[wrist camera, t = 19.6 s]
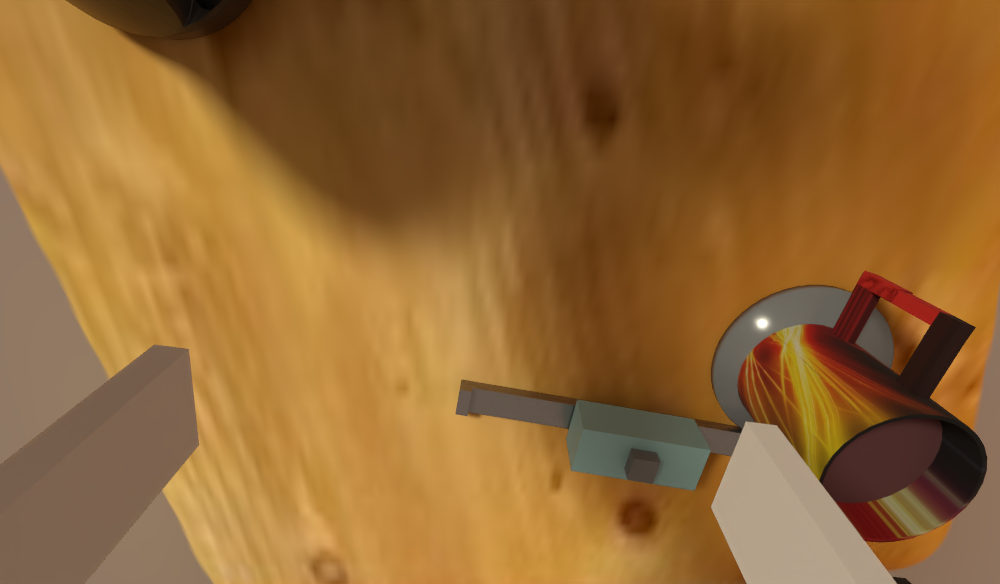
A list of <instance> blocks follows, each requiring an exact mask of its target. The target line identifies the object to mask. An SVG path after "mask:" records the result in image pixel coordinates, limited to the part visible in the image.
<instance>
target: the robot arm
mask: <svg viewBox="0 0 1000 584" xmlns="http://www.w3.org/2000/svg"><path fill="white" fill-rule="evenodd" d="M66 1H68V2H69V3H71V4H72V5H74V6H75V7H77V8H78V9H80V10H82V11H83V12H85V13H86V14H88V15H90V16H91V17H93V18H95V19H97V20H99V21H101V22H103V23H105V24H107V25H109V26H112V27H115V28H117V29H120V30H123V31H126V32H129V33H133V34H137V35H143V36H149V37H156V38H163V39H173V40H182V39H192V38H197V37H201V36H205V35H208V34H210V33H213V32H215V31H217V30H219V29H221V28H223V27H224V26H226V25H228V24H229V23H230V22H232V21H233V20H234V19H235V18H236V17H238V16H239V15H240V14H241V13H242V12H243V10H244V9H245V8H246V7H247V6H248V4H249V3H250V2H251V0H66ZM198 446H199V440H198V431H197V421H196V412H195V403H194V394H193V384H192V375H191V366H190V357H189V349H184V348H176V347H169V346H161V345H153V346H152V347H151V348H149V349H148V350H147V351H146V352H144V353H143V354H142V355H140V356H139V357H138V358H137V359H135V360H134V361H133V362H131V363H130V364H129V365H128V366H126V367H125V368H124V369H122V370H121V371H120V372H119V373H117V374H116V375H115V376H113V377H112V378H111V379H110V380H108V381H107V382H106V383H104V384H103V385H102V386H101V387H99V388H98V389H97V390H95V391H94V392H93V393H92V394H90V395H89V396H88V397H86V398H85V399H84V400H83V401H82V402H80V403H79V404H77V405H76V406H75V407H74V408H72V409H71V410H70V411H68V412H67V413H66V414H65V415H63V416H62V417H61V418H59V419H58V420H57V421H56V422H54V423H53V424H52V425H50V426H49V427H48V428H47V429H45V430H44V431H43V432H41V433H40V434H39V435H37V436H36V437H35V438H34V439H32V440H31V441H30V442H29V443H27V444H26V445H25V446H23V447H22V448H21V449H19V450H18V451H17V452H16V453H14V454H13V455H12V456H10V457H9V458H8V459H7V460H5V461H4V462H3V463H1V464H0V584H85V583H86V582H87V580H88V579H89V578H90V576H91V575H92V574H93V573H94V572H95V571H96V569H97V568H98V567H99V566H100V564H101V563H102V562H103V561H104V560H105V558H106V557H107V556H108V555H109V554H110V552H111V551H112V550H113V549H114V548H115V546H116V545H117V544H118V543H119V541H120V540H121V539H122V538H123V537H124V535H125V534H126V533H127V532H128V531H129V529H130V528H131V527H132V526H133V524H134V523H135V522H136V521H137V520H138V518H139V517H140V516H141V515H142V513H143V512H144V511H145V510H146V509H147V507H148V506H149V505H150V504H151V503H152V501H153V500H154V499H155V498H156V497H157V495H158V494H159V493H160V492H161V490H162V489H163V488H164V487H165V486H166V484H167V483H168V482H169V481H170V480H171V478H172V477H173V476H174V475H175V473H176V472H177V471H178V470H179V469H180V467H181V466H182V465H183V464H184V463H185V461H186V460H187V459H188V458H189V456H190V455H191V454H192V453H193V452H194V450H195V449H196V448H197V447H198ZM711 508H712V511H713V513H714V515H715V517H716V519H717V521H718V523H719V526H720V528H721V530H722V532H723V534H724V536H725V538H726V541H727V543H728V545H729V547H730V549H731V551H732V553H733V556H734V558H735V560H736V562H737V564H738V566H739V568H740V571H741V573H742V575H743V577H744V579H745V581H746V583H747V584H911V583H910V582H909V581H908V580H907V579H905V578H897V577H892V576H891V575H890V574H889V572H888V571H887V570H886V568H885V567H884V566H883V565H882V563H881V562H880V561H879V559H878V558H877V557H876V555H875V554H874V553H873V551H872V550H871V549H870V547H869V546H868V545H867V543H866V542H865V541H864V540H863V538H862V537H861V536H860V534H859V533H858V532H857V530H856V529H855V528H854V526H853V525H852V524H851V522H850V521H849V520H848V518H847V517H846V516H845V515H844V513H843V512H842V511H841V509H840V508H839V507H838V505H837V504H836V503H835V501H834V500H833V499H832V497H831V496H830V495H829V493H828V492H827V491H826V490H825V488H824V487H823V486H822V484H821V483H820V482H819V480H818V479H817V478H816V476H815V475H814V474H813V472H812V471H811V470H810V468H809V467H808V466H807V465H806V463H805V462H804V461H803V459H802V458H801V457H800V455H799V454H798V453H797V451H796V450H795V449H794V447H793V446H792V445H791V443H790V442H789V441H788V440H787V438H786V437H785V436H784V434H783V433H782V432H781V430H780V429H779V428H778V426H777V425H770V424H762V423H754V422H747V421H746V422H745V425H744V427H743V430H742V432H741V435H740V437H739V440H738V442H737V444H736V447H735V449H734V452H733V454H732V457H731V459H730V462H729V464H728V466H727V469H726V471H725V474H724V476H723V479H722V481H721V484H720V486H719V489H718V491H717V493H716V496H715V498H714V501H713V503H712V506H711Z"/></svg>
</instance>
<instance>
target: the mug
mask: <svg viewBox="0 0 1000 584" xmlns="http://www.w3.org/2000/svg"><path fill="white" fill-rule="evenodd" d="M912 294H913V293H912V292H910V291H908V290H906V289H904V288H902V287H900V286H898V285H896V284H894V283H892V282H890V281H888V280H886V279H884V278H883V277H881V276H879V275H877V274H874V273H870V272H867V271H864V272H863V274H862V275H861V277H860V279H859V280H858V282H857V285H856V286H855V288H854V290H853V292H852V294H851V296H850V298H849V300H848V301H847V303H846V305H845V307H844V309H843V311H842V313H841V315H840V316H839V318H838V320H837V322H836V324H835V326H834V328H831V327H828V326H824V325H818V324H801V325H795V326H791V327H787V328H784V329H782V330H779V331H777V332H775V333H773V334H771V335H770V336H768V337H767V338H765V339H763V340H762V341H761V342H760V343H759V344H758V345H756V346H755V347H754V348H753V349H752V351H751V352H750V353H749V354H748V356H747V357H746V359H745V360H744V362H743V364H742V366H741V369H740V372H739V375H738V383H737V388H738V394H739V398H740V400H741V402H742V405H743V406H744V407H745V409H746V410H747V412H748V413H749V414H750V416H751V417H752V419H753V420H754V421H755V423H762V424H770V425H777V426H778V428H779V429H780V430H781V432H782V433H783V434H784V436H785V437H786V438H787V440H788V441H789V442H790V443H791V445H792V446H793V447H794V449H795V450H796V451H797V453H798V454H799V455H800V457H801V458H802V459H803V461H804V462H805V463H806V465H807V466H808V467H809V468H810V470H811V471H812V472H813V474H814V475H815V476H816V478H817V479H818V480H819V482H820V483H821V484H822V486H823V487H824V488H825V490H826V491H827V492H828V493H829V495H830V496H831V497H832V499H833V500H834V501H835V503H836V504H837V505H838V507H839V508H840V509H841V511H842V512H843V513H844V515H845V516H846V517H847V518H848V520H849V521H850V522H851V524H852V525H853V526H854V528H855V529H856V530H857V532H858V533H859V534H860V536H861V537H862V538H863V540H864V541H870V542H895V541H900V540H905V539H910V538H913V537H916V536H920V535H923V534H926V533H928V532H930V531H932V530H934V529H936V528H938V527H940V526H942V525H944V524H945V523H947V522H948V521H950V520H951V519H953V518H954V517H955V516H957V515H958V514H959V513H960V512H961V511H962V510H963V509H965V508H966V507H967V506H968V504H969V503H970V502H971V500H972V499H973V498H974V497H975V496H976V494H977V493H978V491H979V489H980V487H981V485H982V483H983V481H984V477H985V474H986V470H987V456H986V451H985V447H984V445H983V443H982V442H981V440H980V438H979V437H978V435H977V434H976V433H975V432H974V431H972V430H971V429H970V428H969V427H968V426H967V425H965V424H964V423H963V422H961V421H960V420H959V419H957V418H956V417H955V416H953V415H952V414H951V413H949V412H948V411H947V410H945V409H944V408H943V407H941V406H940V405H939V404H937V403H936V402H934V401H933V400H932V399H930V396H931V394H932V393H933V391H934V390H935V388H936V387H937V385H938V384H939V382H940V381H941V379H942V377H943V376H944V374H945V373H946V371H947V370H948V368H949V367H950V365H951V363H952V362H953V360H954V359H955V357H956V356H957V354H958V353H959V351H960V349H961V348H962V346H963V345H964V343H965V342H966V340H967V339H968V337H969V336H970V335H971V333H972V332H973V331H974V329H975V328H976V327H974V326H972V325H970V324H968V323H966V322H965V321H963V320H961V319H959V318H957V317H955V316H953V315H951V314H949V313H947V312H945V311H943V310H941V309H939V308H937V307H935V306H934V305H932V304H930V303H928V302H926V301H924V300H922V299H920V298H918V297H916V296H914V295H912ZM880 297H882V298H884V299H885V300H887V301H889V302H891V303H892V304H894V305H896V306H898V307H899V308H901V309H903V310H905V311H906V312H908V313H910V314H912V315H913V316H915V317H917V318H919V319H921V320H922V321H924V322H926V323H928V324H929V325H931V326H930V327H929V329H928V330H927V332H926V334H925V335H924V337H923V339H922V340H921V342H920V344H919V345H918V347H917V349H916V350H915V352H914V353H913V355H912V357H911V358H910V360H909V362H908V363H907V365H906V367H905V368H904V370H903V372H902V373H901V375H900V376H899V375H898V374H897V373H895V372H894V371H893V370H891V369H890V368H889V367H887V366H886V365H885V364H883V363H882V362H881V361H879V360H878V359H877V358H875V357H874V356H873V355H871V354H870V353H869V352H867V351H866V350H865V349H863V348H862V347H860V346H859V345H858V344H856V343H855V342H856V340H857V339H858V337H859V335H860V333H861V331H862V330H863V328H864V326H865V324H866V322H867V321H868V319H869V317H870V315H871V313H872V312H873V310H874V308H875V306H876V304H877V303H878V301H879V299H880Z"/></svg>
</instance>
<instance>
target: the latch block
mask: <svg viewBox="0 0 1000 584" xmlns="http://www.w3.org/2000/svg"><path fill="white" fill-rule="evenodd" d="M566 440H567V446H568V453H569V459H570V466H571V471H577V472H583V473H589V474H595V475H601V476H607V477H613V478H619V479H625V480H632V481H638V482H644V483H650V484H656V485H662V486H668V487H674V488H680V489H687V490H693V491H695V488H696V486H697V483H698V481H699V479H700V476H701V474H702V471H703V469H704V466H705V464H706V461H707V459H708V457H709V454H710V452H711V449H710V448H709V446H708V444H707V442H706V440H705V438H704V437H703V435H702V433H701V431H700V429H699V427H698V426H697V424H696V422H695V420H694V419H690V418H684V417H678V416H672V415H666V414H661V413H655V412H649V411H643V410H637V409H631V408H625V407H619V406H613V405H608V404H602V403H596V402H590V401H584V400H578V399H577V402H576V405H575V409H574V413H573V416H572V420H571V423H570V427H569V431H568V434H567V438H566Z"/></svg>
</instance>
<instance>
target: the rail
mask: <svg viewBox="0 0 1000 584" xmlns="http://www.w3.org/2000/svg"><path fill="white" fill-rule="evenodd" d="M576 402H577V399H572V398H566V397H561V396H555V395H549V394H543V393H537V392H531V391H525V390H519V389H513V388H508V387H502V386H496V385H490V384H484V383H478V382H472V381H466V380H462V381H461V386H460V392H459V398H458V403H457V409H456V414H458V415H464V416H467V415H468V412H471V413H477V414H483V415H489V416H495V417H501V418H507V419H513V420H519V421H525V422H531V423H537V424H543V425H549V426H555V427H561V428H567V429H569V427H570V423H571V420H572V416H573V413H574V409H575V405H576ZM613 406H614V405H613ZM666 415H667V414H666ZM694 420H695V422H696V424H697V426H698V427H699V429H700V431H701V433H702V435H703V437H704V438H705V440H706V442H707V444H708V446H709V448H710V449H711V453H717V454H723V455H729V456H732V454H733V452H734V449H735V447H736V444H737V442H738V440H739V437H740V435H741V432H742V430H743V429H742V428H741V427H737V426H731V425H726V424H720V423H714V422H708V421H702V420H696V419H694Z"/></svg>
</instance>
